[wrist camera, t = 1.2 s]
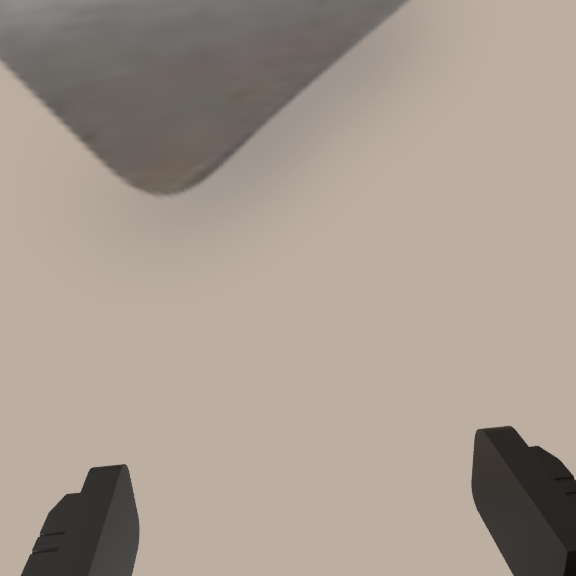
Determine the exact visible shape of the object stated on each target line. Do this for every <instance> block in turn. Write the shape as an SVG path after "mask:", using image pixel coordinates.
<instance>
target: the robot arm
mask: <svg viewBox="0 0 576 576" xmlns="http://www.w3.org/2000/svg"><path fill="white" fill-rule="evenodd" d="M472 493H473V498H474V502H475V505H476V507H477V510H478V512H479V514H480V516H481V518H482V519H483V521H484V523H485V525H486V526H487V528H488V530H489V532H490V534H491V535H492V537H493V539H494V541H495V543H496V544H497V546H498V548H499V550H500V552H501V554H502V555H503V557H504V559H505V561H506V563H507V564H508V566H509V568H510V570H511V572H512V573H513V575H514V576H576V480H574V476H573V475H572V474H571V473H570V471H569V470H568V469H567V468H566V467H565V466H564V464H563V463H562V462H561V461H560V460H559V459H558V458H556V457H555V456H553V455H552V454H550V453H548V452H547V451H545V450H543V449H542V448H541V447H539V446H534V447H528V445H527V444H526V443H525V441H524V440H523V439H522V438H521V436H520V435H519V434H518V433H517V431H516V430H515V429H514V428H513V427H511V426H504V427H495V428H485V429H478V430H477V431H476V434H475V441H474V455H473V469H472ZM138 544H139V518H138V513H137V508H136V503H135V499H134V493H133V489H132V484H131V479H130V474H129V470H128V467H127V465H125V464H123V465H114V466H104V467H93V468H91V469H90V470H89V472H88V475H87V477H86V480H85V482H84V485H83V488H82V491H81V493H73V494H66V495H65V496H64V497H63V498H62V500H60V502H59V503H58V504H57V505H56V506H55V507H54V508H53V509H52V510H51V511H50V512H49V514H48V516H47V518H46V520H45V523H44V525H43V527H42V529H41V532H40V537H38V539H37V541H36V543H35V545H34V547H33V550H32V554H30V556H29V559H28V561H27V563H26V565H25V567H24V570H23V573H22V574H21V576H132V572H133V568H134V563H135V559H136V554H137V550H138Z"/></svg>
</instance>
